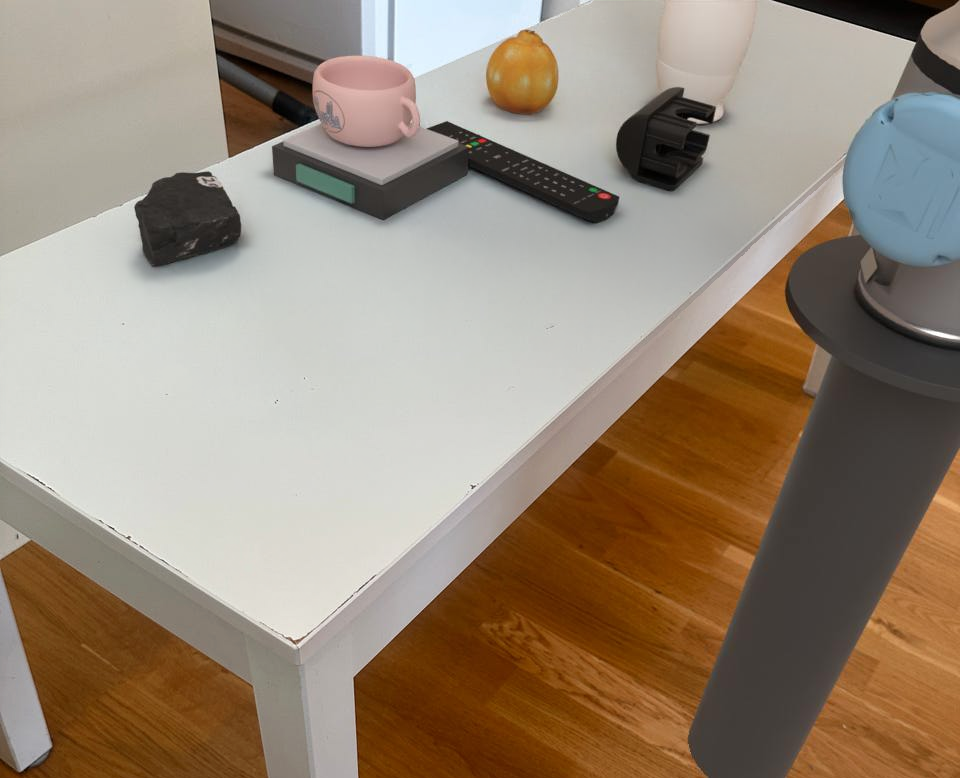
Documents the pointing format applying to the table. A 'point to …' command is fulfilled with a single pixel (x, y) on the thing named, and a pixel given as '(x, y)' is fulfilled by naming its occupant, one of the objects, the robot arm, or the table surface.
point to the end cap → (664, 140)
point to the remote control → (533, 175)
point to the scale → (371, 168)
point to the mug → (365, 100)
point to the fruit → (522, 74)
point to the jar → (703, 47)
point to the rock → (186, 218)
